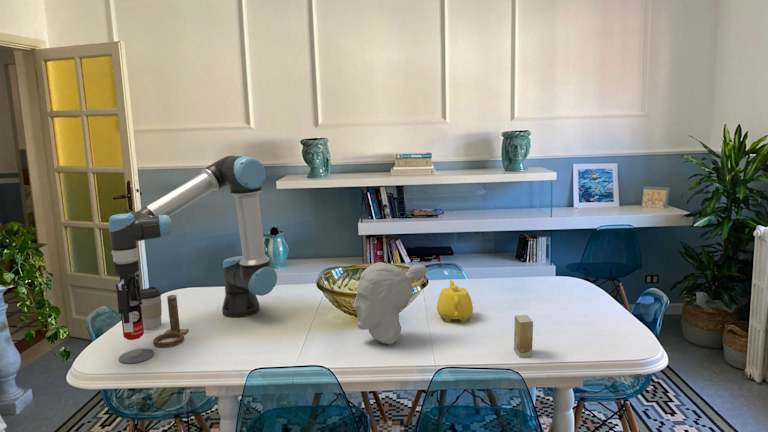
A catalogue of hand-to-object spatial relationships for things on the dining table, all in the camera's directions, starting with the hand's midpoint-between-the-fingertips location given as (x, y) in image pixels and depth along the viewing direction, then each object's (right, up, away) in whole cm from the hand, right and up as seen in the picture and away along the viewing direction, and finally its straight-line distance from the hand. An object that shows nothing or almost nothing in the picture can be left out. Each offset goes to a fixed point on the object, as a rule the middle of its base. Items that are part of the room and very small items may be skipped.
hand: (133, 327), depth 188 cm
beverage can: (0, -4, +1) cm, 4 cm away
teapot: (+112, -2, +31) cm, 116 cm away
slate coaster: (0, -10, +2) cm, 10 cm away
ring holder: (+7, -7, +17) cm, 19 cm away
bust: (+87, -6, +10) cm, 88 cm away
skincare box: (+130, -8, -5) cm, 130 cm away
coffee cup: (-6, -6, +30) cm, 31 cm away
